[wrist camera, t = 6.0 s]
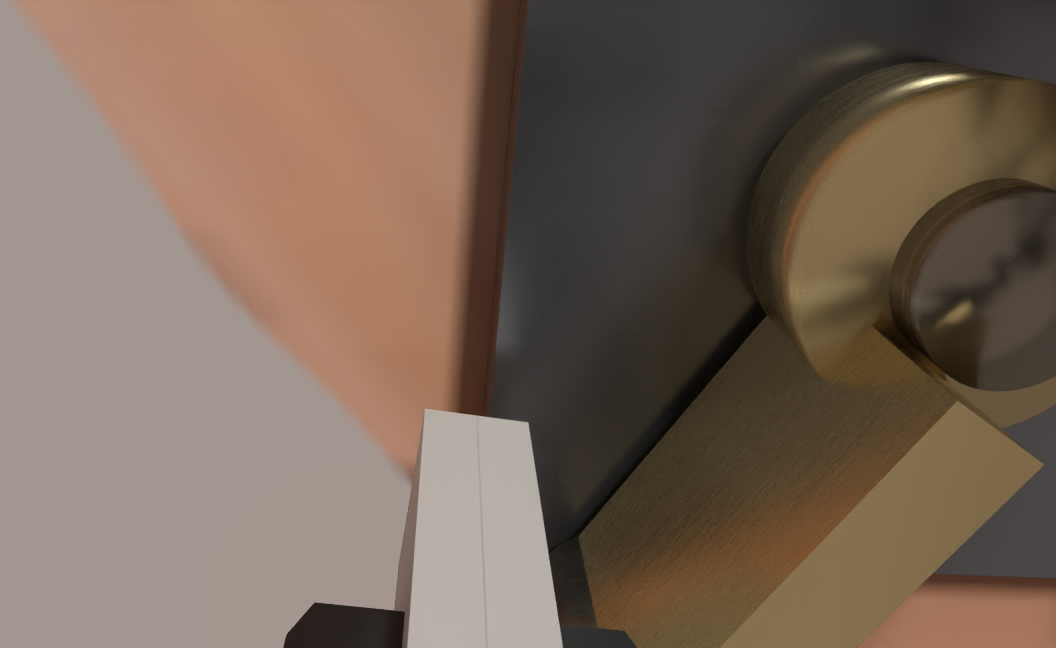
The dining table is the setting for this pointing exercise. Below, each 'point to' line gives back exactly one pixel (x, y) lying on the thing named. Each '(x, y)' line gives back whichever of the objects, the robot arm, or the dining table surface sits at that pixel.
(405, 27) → the dining table surface
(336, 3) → the dining table surface
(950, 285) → the knob
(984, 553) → the plate
